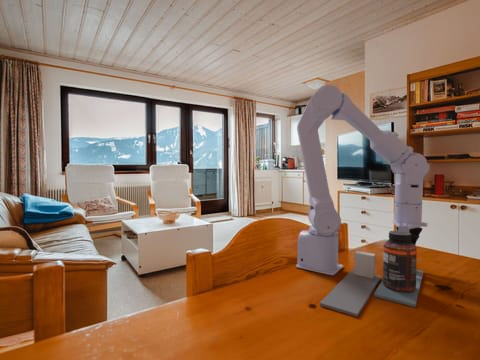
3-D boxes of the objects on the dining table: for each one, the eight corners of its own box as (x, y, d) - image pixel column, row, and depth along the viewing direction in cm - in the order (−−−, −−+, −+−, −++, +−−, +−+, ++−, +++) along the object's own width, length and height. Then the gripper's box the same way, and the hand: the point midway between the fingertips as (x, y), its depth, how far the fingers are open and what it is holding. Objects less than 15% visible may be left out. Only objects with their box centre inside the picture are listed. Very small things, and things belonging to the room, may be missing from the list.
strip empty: (319, 305, 50) (320, 275, 49) (351, 272, 67) (352, 249, 66) (357, 317, 46) (358, 284, 46) (381, 278, 63) (381, 254, 63)
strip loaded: (373, 296, 54) (374, 268, 53) (391, 267, 70) (391, 245, 70) (415, 307, 49) (416, 276, 49) (423, 273, 66) (423, 250, 66)
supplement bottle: (413, 284, 58) (415, 231, 58) (418, 295, 53) (420, 237, 53) (381, 279, 61) (383, 228, 60) (383, 289, 55) (384, 233, 55)
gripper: (426, 207, 58) (423, 271, 59) (429, 202, 70) (427, 255, 70) (388, 204, 63) (386, 264, 63) (397, 200, 74) (395, 250, 75)
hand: (405, 259), depth 67 cm, fingers open, 7 cm apart
